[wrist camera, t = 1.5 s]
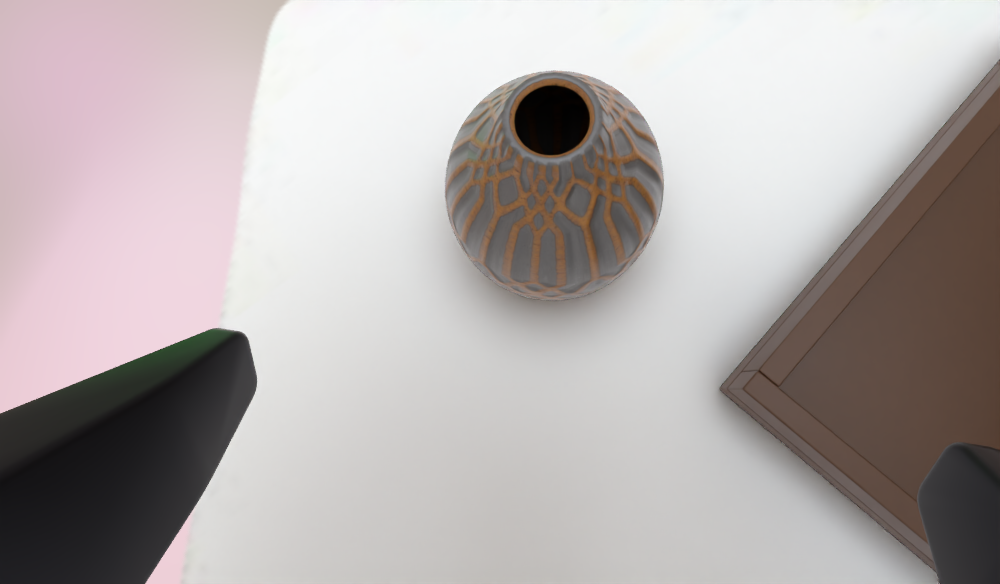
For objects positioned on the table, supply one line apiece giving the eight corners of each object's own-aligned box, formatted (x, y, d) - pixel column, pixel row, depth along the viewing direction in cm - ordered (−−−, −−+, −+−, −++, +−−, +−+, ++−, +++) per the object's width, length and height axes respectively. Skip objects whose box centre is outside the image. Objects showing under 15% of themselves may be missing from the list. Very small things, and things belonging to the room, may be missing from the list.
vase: (429, 240, 22) (349, 146, 13) (538, 109, 22) (528, -63, 14) (568, 349, 21) (578, 323, 12) (679, 208, 21) (765, 87, 13)
